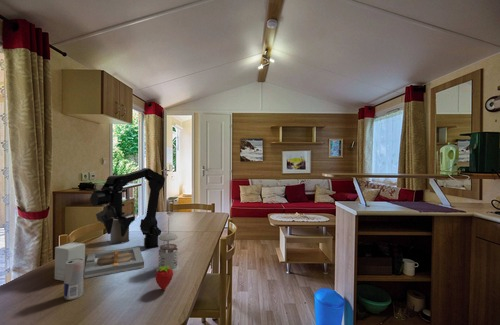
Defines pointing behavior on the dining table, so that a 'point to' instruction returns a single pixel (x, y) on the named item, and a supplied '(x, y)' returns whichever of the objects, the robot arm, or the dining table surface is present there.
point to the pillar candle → (118, 233)
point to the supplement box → (67, 257)
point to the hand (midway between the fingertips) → (115, 235)
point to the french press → (168, 257)
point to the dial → (114, 258)
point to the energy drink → (73, 279)
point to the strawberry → (164, 276)
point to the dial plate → (96, 270)
